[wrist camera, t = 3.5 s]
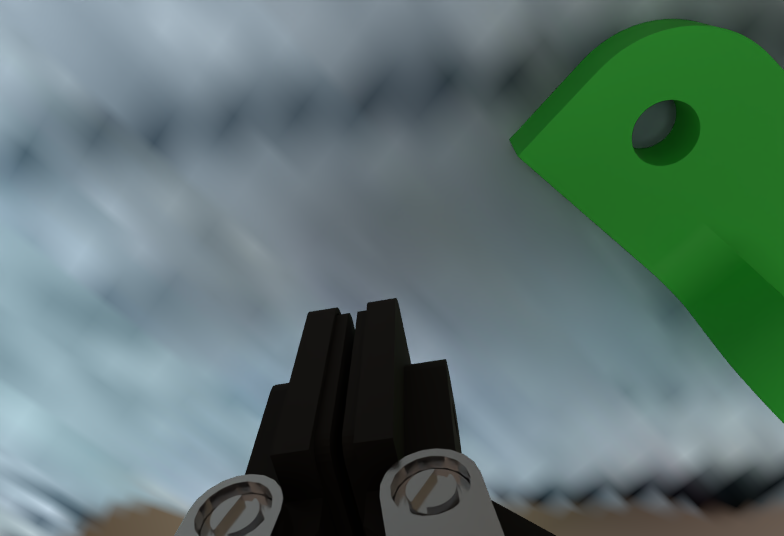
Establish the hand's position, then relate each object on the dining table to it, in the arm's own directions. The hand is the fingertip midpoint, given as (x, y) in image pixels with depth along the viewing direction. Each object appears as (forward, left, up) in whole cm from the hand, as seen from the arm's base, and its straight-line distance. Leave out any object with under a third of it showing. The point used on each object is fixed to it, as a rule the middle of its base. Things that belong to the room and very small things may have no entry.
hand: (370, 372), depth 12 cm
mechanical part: (-10, +1, -10) cm, 14 cm away
